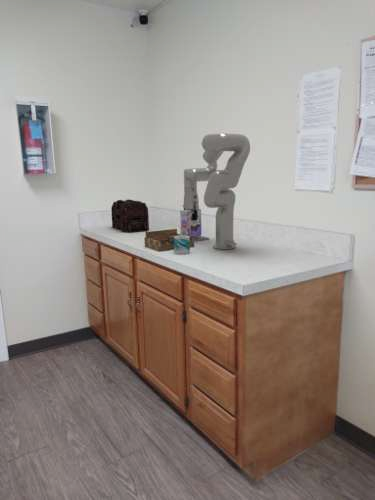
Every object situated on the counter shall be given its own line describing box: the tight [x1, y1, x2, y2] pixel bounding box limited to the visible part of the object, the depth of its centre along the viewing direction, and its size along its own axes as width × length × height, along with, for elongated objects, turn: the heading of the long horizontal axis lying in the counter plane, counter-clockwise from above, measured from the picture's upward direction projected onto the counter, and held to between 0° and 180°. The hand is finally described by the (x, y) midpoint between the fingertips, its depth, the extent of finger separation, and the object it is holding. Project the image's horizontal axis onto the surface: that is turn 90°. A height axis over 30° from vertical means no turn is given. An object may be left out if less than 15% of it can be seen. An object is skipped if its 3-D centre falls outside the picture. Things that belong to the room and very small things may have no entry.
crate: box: [111, 199, 150, 234], centre depth 289 cm, size 35×19×21 cm, turn 28°
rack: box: [143, 228, 195, 252], centre depth 222 cm, size 18×22×8 cm
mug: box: [174, 236, 191, 255], centre depth 207 cm, size 8×12×8 cm
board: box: [193, 235, 210, 242], centre depth 242 cm, size 11×19×1 cm, turn 122°
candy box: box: [179, 208, 202, 237], centre depth 240 cm, size 14×6×16 cm, turn 142°
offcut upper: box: [168, 235, 182, 244], centre depth 216 cm, size 3×8×4 cm, turn 128°
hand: (191, 219), depth 240 cm, fingers closed on candy box, 7 cm apart
